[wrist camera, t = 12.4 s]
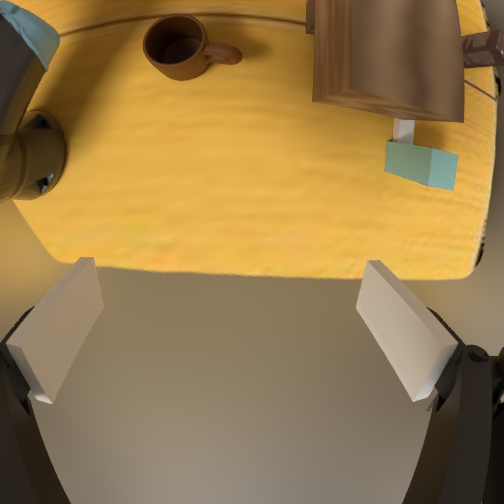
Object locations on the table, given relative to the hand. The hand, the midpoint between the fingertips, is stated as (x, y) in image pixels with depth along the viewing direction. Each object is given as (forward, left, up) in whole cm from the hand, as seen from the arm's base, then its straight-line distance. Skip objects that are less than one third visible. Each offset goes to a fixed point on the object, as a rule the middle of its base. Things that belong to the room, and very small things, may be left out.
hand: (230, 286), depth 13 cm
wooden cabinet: (+17, +21, -31) cm, 41 cm away
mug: (-5, +18, -31) cm, 36 cm away
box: (+42, +31, -31) cm, 60 cm away
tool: (+27, +12, -30) cm, 42 cm away
